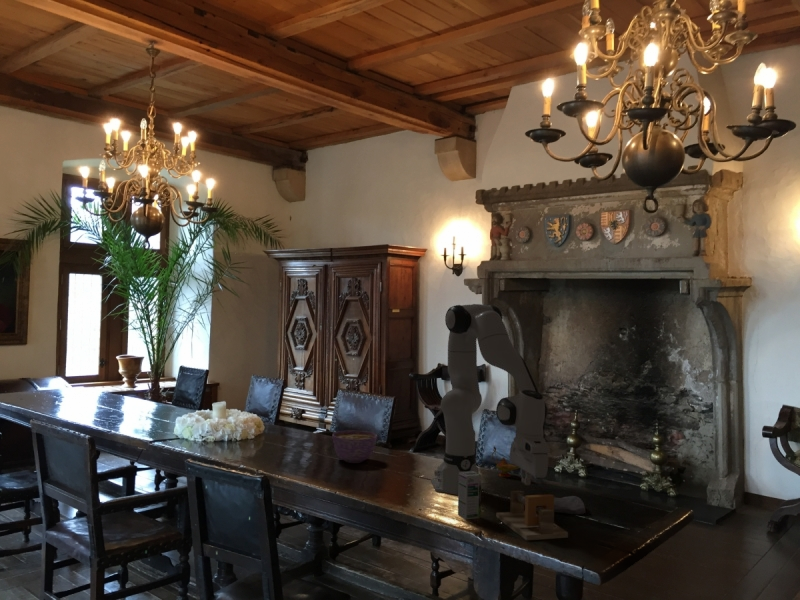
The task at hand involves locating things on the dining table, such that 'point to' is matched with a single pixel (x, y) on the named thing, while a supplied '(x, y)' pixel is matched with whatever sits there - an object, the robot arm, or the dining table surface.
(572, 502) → the stone block
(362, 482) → the dining table surface
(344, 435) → the bowl of food
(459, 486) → the syrup box
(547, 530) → the pipe stand
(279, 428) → the dining table surface
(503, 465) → the magic lamp
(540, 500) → the collar
